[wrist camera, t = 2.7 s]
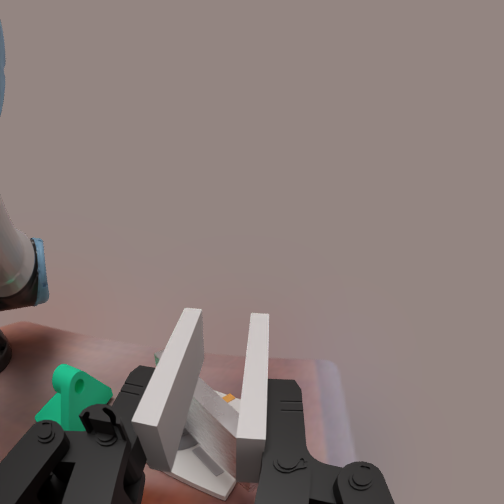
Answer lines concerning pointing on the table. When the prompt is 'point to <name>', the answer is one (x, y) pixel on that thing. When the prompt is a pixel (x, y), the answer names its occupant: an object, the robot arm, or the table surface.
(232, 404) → the post base
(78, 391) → the green mounting bracket
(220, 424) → the brushed metal plate
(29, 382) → the table surface
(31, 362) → the table surface
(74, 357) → the table surface
